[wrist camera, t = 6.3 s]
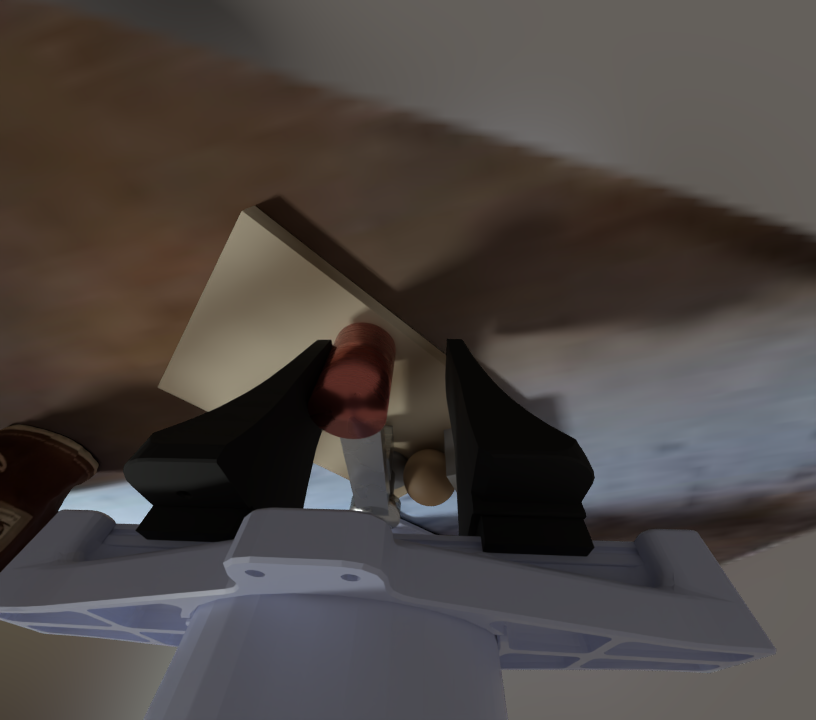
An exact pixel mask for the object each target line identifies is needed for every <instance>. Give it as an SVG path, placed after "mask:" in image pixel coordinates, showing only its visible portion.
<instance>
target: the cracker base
mask: <svg viewBox="0 0 816 720" xmlns="http://www.w3.org/2000/svg"><path fill="white" fill-rule="evenodd" d="M360 322H364V323H371V324H374V325H377V326H379V327H381V328H383V329H384V330H385V331H387V332H388V333H389V334H390V336H391V337H392V339H393V340H394V343H395V346H396V356H395V363H394V370H393V377H392V384H391V392H390V399H389V406H388V413H387V420H386V423H385V425H386V426H393V437H394V454H393V463H392V473H391V480H389V486H390V493H392V494H394V495H395V496H397V497H398V498H400V497H402V496H403V495H405V494H407V493H408V494H409V495H410V497H411V498H412V499H413V500H415V501H416V502H417V503H419V504H422V505H425V506H436V505H439V504H442V503H444V502H445V501H446V500H448V499H449V498H450V496H451V495H452V493H453V492H454V489H455V490H456V492H457V484H456V467H455V451H454V442H453V435H452V429H451V423H450V417H449V411H448V405H447V399H446V386H445V368H446V355H445V354H444V353H443V352H441V351H440V350H439V349H437V348H436V347H435V346H434V345H432V344H431V343H430V342H428V341H427V340H426V339H425V338H423V337H422V336H421V335H419V334H418V333H417V332H416V331H414V330H413V329H412V328H411V327H409V326H408V325H407V324H405V323H404V322H403V321H402V320H400V319H399V318H398V317H396V316H395V315H394V314H393V313H391V312H390V311H389V310H388V309H386V308H385V307H384V306H382V305H381V304H380V303H379V302H377V301H376V300H375V299H373V298H372V297H371V296H370V295H368V294H367V293H366V292H364V291H363V290H362V289H361V288H359V287H358V286H357V285H356V284H354V283H353V282H352V281H350V280H349V279H348V278H347V277H345V276H344V275H343V274H341V273H340V272H339V271H338V270H336V269H335V268H334V267H332V266H331V265H330V264H329V263H327V262H326V261H325V260H324V259H322V258H321V257H320V256H318V255H317V254H316V253H315V252H313V251H312V250H311V249H309V248H308V247H307V246H306V245H304V244H303V243H302V242H300V241H299V240H298V239H297V238H295V237H294V236H293V235H292V234H290V233H289V232H288V231H286V230H285V229H284V228H283V227H281V226H280V225H279V224H277V223H276V222H275V221H274V220H272V219H271V218H270V217H268V216H267V215H266V214H265V213H263V212H262V211H261V210H260V209H258V208H257V207H256V206H252V207H250V208H247V209H245V210H243V211H242V212H241V214H240V216H239V218H238V220H237V222H236V224H235V226H234V229H233V231H232V233H231V235H230V237H229V239H228V241H227V243H226V245H225V247H224V249H223V252H222V254H221V256H220V258H219V260H218V262H217V264H216V266H215V268H214V270H213V273H212V275H211V277H210V279H209V281H208V283H207V285H206V287H205V289H204V291H203V294H202V296H201V298H200V300H199V302H198V304H197V306H196V308H195V310H194V312H193V314H192V317H191V319H190V321H189V323H188V325H187V327H186V329H185V331H184V333H183V335H182V338H181V340H180V342H179V344H178V346H177V348H176V350H175V352H174V354H173V356H172V358H171V361H170V363H169V365H168V367H167V369H166V371H165V373H164V375H163V377H162V379H161V382H160V384H159V386H158V388H160V389H162V390H164V391H166V392H168V393H170V394H172V395H174V396H176V397H179V398H181V399H183V400H185V401H187V402H189V403H191V404H193V405H195V406H197V407H199V408H201V409H203V410H205V411H207V412H209V411H211V410H213V409H216V408H218V407H220V406H222V405H224V404H226V403H228V402H229V401H231V400H233V399H235V398H237V397H239V396H241V395H243V394H245V393H246V392H248V391H250V390H251V389H253V388H254V387H256V386H258V385H259V384H261V383H262V382H264V381H265V380H267V379H268V378H270V377H271V376H272V375H274V374H275V373H276V372H278V371H279V370H280V369H282V368H283V367H284V366H286V365H287V364H288V363H290V362H291V361H292V360H293V359H294V358H296V357H297V356H298V355H299V354H301V353H302V352H303V351H304V350H305V349H307V348H308V347H309V346H310V345H311V344H313V343H314V342H315V341H317V340H332V344H334V342H335V340H336V337H337V335H338V334H339V332H340V331H341V330H342V329H343V328H344V327H346V326H348V325H350V324H353V323H360ZM313 463H315V464H317V465H319V466H321V467H323V468H325V469H327V470H329V471H331V472H334V473H336V474H338V475H340V476H342V477H344V478H346V479H348V480H350V479H349V475H348V471H347V466H346V462H345V458H344V453H343V449H342V445H341V441H340V437H337V436H334V435H331V434H329V433H327V432H325V431H324V430H323V431H322V433H321V436H320V439H319V442H318V445H317V449H316V453H315V457H314V461H313Z"/></svg>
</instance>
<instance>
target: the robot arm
mask: <svg viewBox="0 0 816 720" xmlns="http://www.w3.org/2000/svg"><path fill="white" fill-rule="evenodd" d="M332 347H333V344H332V340H317V341H315V342H314V343H313V344H311V345H310V346H309V347H308V348H307V349H305V350H304V351H303V352H302V353H301V354H299V355H298V356H297V357H296V358H294V359H293V360H292V361H291V362H290V363H288V364H287V365H286V366H284V367H283V368H282V369H280V370H279V371H278V372H276V373H275V374H274V375H272V376H271V377H270V378H268V379H267V380H265V381H264V382H262V383H261V384H259V385H258V386H256V387H254V388H253V389H251V390H250V391H248V392H246V393H245V394H243V395H241V396H239V397H237V398H235V399H233V400H231V401H229V402H228V403H226V404H224V405H222V406H220V407H218V408H216V409H213V410H211V411H209V412H207V413H204V414H202V415H200V416H197V417H195V418H193V419H190V420H188V421H185V422H182V423H180V424H177V425H174V426H171V427H169V428H166V429H163V430H160V431H157V432H154V433H153V434H152V435H151V436H150V437H149V438H148V439H147V441H146V442H145V443H144V444H143V445H142V446H141V447H140V448H139V450H138V451H137V452H136V453H135V454H134V455H133V456H132V457H131V458H130V460H129V461H128V462H127V463H126V464H125V465H124V469H123V472H124V475H125V478H126V480H127V481H128V482H129V483H130V485H131V486H132V487H133V488H135V489H136V490H137V491H138V492H139V493H140V494H141V495H142V496H143V497H144V498H145V499H147V500H148V501H149V502H150V503H151V504H152V505H153V507H152V508H151V510H150V511H149V512H148V514H147V515H146V516H145V518H144V519H143V521H142V522H141V523H140V524H116V522H115V521H114V520H113V519H112V518H111V517H109V516H108V515H106V514H104V513H102V512H99V511H93V510H61V511H59V512H58V513H57V514H56V515H55V516H54V517H53V518H52V519H51V520H50V521H49V522H48V524H47V525H46V526H45V527H44V528H43V529H42V530H41V531H40V532H39V533H38V534H37V535H36V536H35V537H34V538H33V539H32V540H31V541H30V542H29V543H28V544H27V545H26V546H25V547H24V548H23V550H22V551H21V552H20V553H19V554H18V555H17V556H16V557H15V558H14V559H13V560H12V561H11V562H10V563H9V564H8V565H7V566H6V567H5V568H4V569H3V570H2V571H1V572H0V620H3V621H6V622H9V623H12V624H15V625H18V626H21V627H24V628H28V629H31V630H34V631H37V632H40V633H44V634H58V635H71V636H83V637H94V638H104V639H114V640H123V641H131V642H139V643H148V644H156V645H165V646H173V647H178V648H177V650H176V652H175V655H174V656H173V659H172V661H171V663H170V665H169V667H168V669H167V671H166V673H165V675H164V677H163V679H162V682H161V684H160V686H159V688H158V690H157V692H156V694H155V696H154V698H153V700H152V702H151V704H150V706H149V708H148V711H147V713H146V715H145V717H144V719H143V720H508V716H507V709H506V701H505V694H504V687H503V680H502V672H501V670H651V671H653V670H654V671H679V672H700V673H712V672H715V671H719V670H722V669H726V668H729V667H732V666H736V665H740V664H743V663H747V662H750V661H754V660H757V659H761V658H764V657H768V656H771V655H775V654H776V648H775V647H774V646H773V644H772V642H771V641H770V639H769V638H768V636H767V635H766V633H765V632H764V630H763V629H762V627H761V626H760V624H759V623H758V621H757V620H756V618H755V617H754V616H753V614H752V613H751V611H750V610H749V608H748V607H747V605H746V604H745V602H744V601H743V599H742V598H741V596H740V595H739V593H738V592H737V590H736V589H735V588H734V586H733V584H732V583H731V581H730V580H729V578H728V577H727V576H726V574H725V573H724V571H723V570H722V568H721V567H720V565H719V564H718V562H717V561H716V559H715V558H714V556H713V555H712V553H711V552H710V550H709V549H708V547H707V546H706V544H705V543H704V541H703V540H702V538H701V537H700V535H699V534H698V533H697V532H696V531H693V530H674V529H650V530H647V531H644V532H642V533H640V534H639V535H638V536H637V538H636V539H635V541H634V542H621V541H593V540H591V537H590V535H589V532H588V530H587V527H586V525H585V522H584V520H583V519H585V518H586V512H585V510H584V508H583V505H582V503H581V502H582V500H583V499H584V497H585V495H586V494H587V492H588V490H589V489H590V487H591V486H592V484H593V481H594V478H595V477H594V471H593V469H592V467H591V465H590V463H589V461H588V459H587V457H586V455H585V453H584V452H583V450H582V449H581V447H580V446H579V444H578V442H577V441H576V439H574V438H572V437H570V436H568V435H567V434H565V433H563V432H561V431H559V430H557V429H555V428H554V427H552V426H550V425H548V424H547V423H545V422H544V421H542V420H540V419H539V418H537V417H536V416H534V415H533V414H531V413H530V412H528V411H527V410H526V409H524V408H523V407H522V406H520V405H519V404H518V403H516V402H515V401H514V400H513V399H511V398H510V397H509V396H508V395H507V394H506V393H505V392H504V391H502V390H501V389H500V388H499V387H498V386H497V385H496V384H495V383H494V381H493V380H492V379H491V378H490V377H489V376H488V375H487V374H486V372H485V371H484V370H483V369H482V367H481V366H480V365H479V364H478V362H477V361H476V360H475V358H474V357H473V355H472V354H471V352H470V351H469V349H468V348H467V346H466V345H465V343H464V341H463V340H462V339H447V349H446V368H445V386H446V399H447V405H448V411H449V417H450V423H451V429H452V435H453V442H454V451H455V467H456V484H457V503H458V523H459V536H451V535H435V534H433V533H431V532H429V531H426V530H424V529H422V528H420V527H418V526H416V525H413V524H411V523H409V522H407V521H405V520H403V519H400V522H399V524H398V526H397V527H395V528H393V529H391V528H390V527H389V526H388V524H387V523H386V522H385V521H384V519H382V518H380V517H378V516H376V515H374V514H371V513H368V512H362V511H355V510H335V509H303V507H304V502H305V497H306V492H307V487H308V482H309V478H310V474H311V469H312V465H313V461H314V457H315V453H316V449H317V445H318V442H319V439H320V436H321V433H322V431H323V430H322V429H321V428H319V427H318V426H317V425H316V424H315V423H314V422H313V420H312V419H311V417H310V415H309V412H308V402H309V399H310V397H311V395H312V392H313V390H314V388H315V385H316V383H317V381H318V379H319V376H320V374H321V372H322V369H323V367H324V365H325V363H326V360H327V358H328V356H329V353H330V351H331V349H332Z"/></svg>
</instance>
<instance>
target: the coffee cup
mask: <svg viewBox="0 0 816 720" xmlns="http://www.w3.org/2000/svg"><path fill="white" fill-rule="evenodd" d="M98 466H99V465H98V462H97V461H96V460H95V459H94V458H93V457H92V455H91V454H90V453H89V452H88V451H86V450H85V449H84V448H83V447H82V446H81V445H79V444H77V443H76V442H74V441H73V440H71V439H69V438H67V437H65V436H62V435H60V434H57V433H54V432H50V431H47V430H44V429H40V428H36V427H33V426H27V425H20V424H19V425H12V426H9V427H6V428H4V429H2V430H0V572H1V571H2V570H3V569H4V568H5V567H6V566H7V565H8V564H9V563H10V562H11V561H12V560H13V559H14V558H15V557H16V556H17V555H18V554H19V553H20V552H21V551H22V550H23V548H24V547H25V546H26V545H27V544H28V543H29V542H30V541H31V540H32V539H33V538H34V537H35V536H36V535H37V534H38V533H39V532H40V531H41V530H42V529H43V528H44V527H45V526H46V525H47V524H48V522H49V521H50V520H51V519H52V518H53V517H54V516H55V515H56V514H57V513H58V510H59V508H60V507H61V505H62V503H63V501H64V499H65V498H66V496H67V495H68V494H69V492H70V490H71V489H72V488H73V487H74V486H76V485H79V484H82V483H83V482H85V481H87V480H88V479H90V478H91V477H92V476H93V475H95V474H96V472H97V468H98Z"/></svg>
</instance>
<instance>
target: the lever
mask: <svg viewBox="0 0 816 720" xmlns="http://www.w3.org/2000/svg"><path fill="white" fill-rule="evenodd" d="M395 356H396V346H395V343H394V340H393V339H392V337H391V336H390V334H389V333H388V332H387V331H385V330H384V329H383V328H381V327H379V326H377V325H374V324H371V323H364V322H360V323H353V324H350V325H348V326H346V327H344V328H343V329H342V330H341V331H340V332H339V334H338V335H337V337H336V340H335V342H334V344H333V347H332V349H331V351H330V353H329V356H328V358H327V360H326V363H325V365H324V367H323V369H322V372H321V374H320V376H319V379H318V381H317V383H316V385H315V388H314V390H313V392H312V395H311V397H310V399H309V402H308V412H309V415H310V417H311V419H312V420H313V422H314V423H315V424H316V425H317V426H318V427H319V428H321V429H322V430H324V431H325V432H327V433H329V434H331V435H334V436H337V437H340V441H341V445H342V449H343V453H344V458H345V462H346V466H347V471H348V475H349V479H350V484H351V488H352V492H353V497H352V500H351V505H350V510H355V511H362V512H368V513H371V514H374V515H376V516H378V517H380V518H382V519H384V521H385V522H386V523H387V524H388V526H389V527H390V528H391V529H393V528H395V527H397V526H398V524H399V522H400V509H401V502H400V500H399V498H398V497H397V496H395V495H394V494H392V493H390V486H389V480H391V473H392V463H393V454H394V437H393V426H386V425H385V423H386V420H387V413H388V406H389V399H390V392H391V384H392V377H393V370H394V363H395Z"/></svg>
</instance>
